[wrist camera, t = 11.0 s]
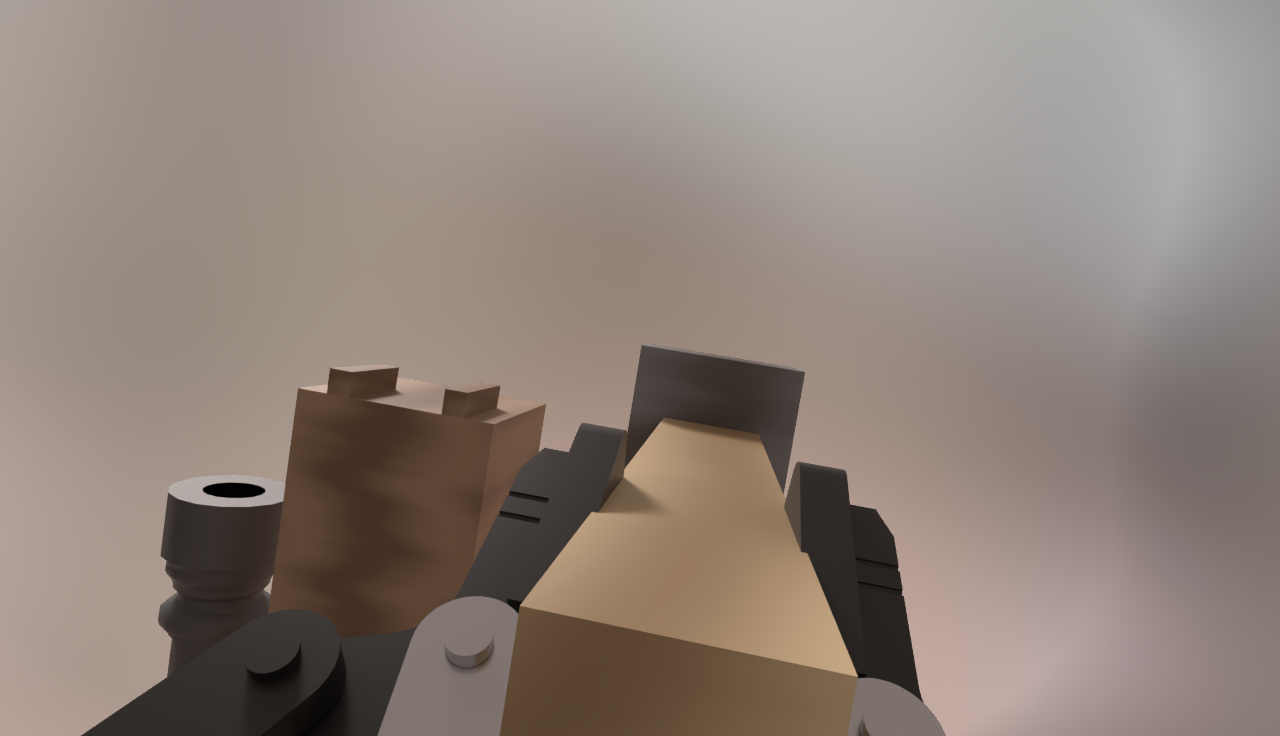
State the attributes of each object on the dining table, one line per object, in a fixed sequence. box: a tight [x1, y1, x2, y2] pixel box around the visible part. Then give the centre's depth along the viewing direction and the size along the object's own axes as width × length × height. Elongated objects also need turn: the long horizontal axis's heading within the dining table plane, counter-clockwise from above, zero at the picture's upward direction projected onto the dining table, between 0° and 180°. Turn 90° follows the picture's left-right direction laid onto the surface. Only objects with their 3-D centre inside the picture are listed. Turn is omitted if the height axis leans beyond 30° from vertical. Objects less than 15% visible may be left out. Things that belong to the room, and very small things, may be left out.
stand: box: [268, 364, 546, 638], centre depth 32 cm, size 10×10×33 cm
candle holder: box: [158, 475, 286, 676], centre depth 36 cm, size 6×6×25 cm
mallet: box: [499, 345, 858, 736], centre depth 15 cm, size 5×19×5 cm, turn 173°
